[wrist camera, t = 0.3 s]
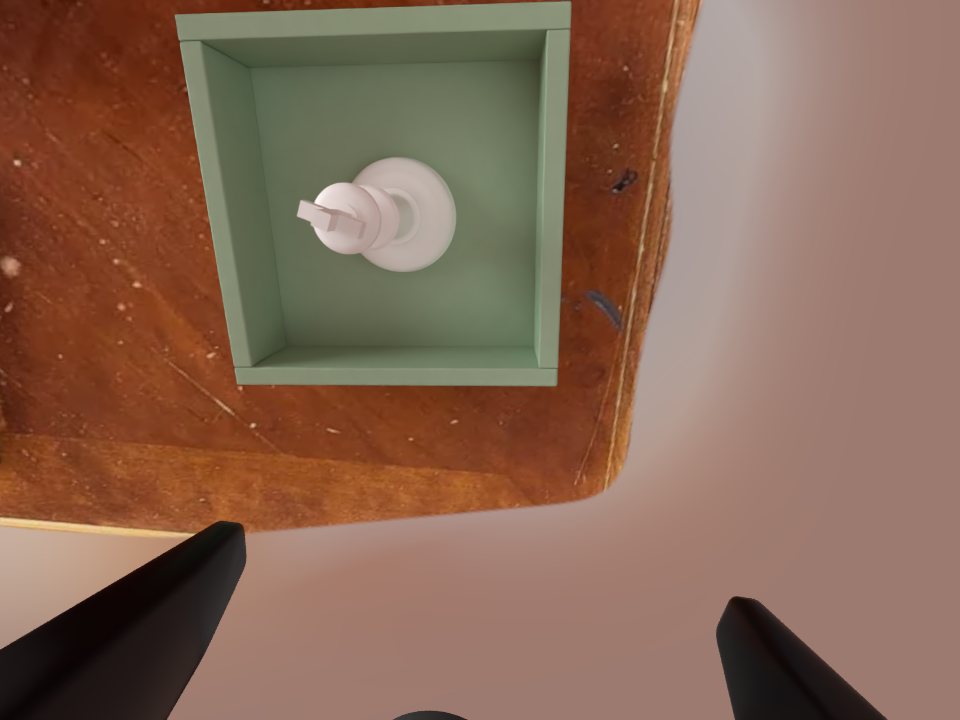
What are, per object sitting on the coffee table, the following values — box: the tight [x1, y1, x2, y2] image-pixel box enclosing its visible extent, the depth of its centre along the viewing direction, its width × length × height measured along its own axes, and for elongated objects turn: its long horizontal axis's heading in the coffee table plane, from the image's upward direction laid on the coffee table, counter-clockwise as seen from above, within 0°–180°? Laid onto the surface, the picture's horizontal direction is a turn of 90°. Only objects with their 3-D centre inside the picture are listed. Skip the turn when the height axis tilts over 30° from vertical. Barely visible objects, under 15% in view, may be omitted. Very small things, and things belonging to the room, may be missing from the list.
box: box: [175, 1, 571, 386], centre depth 20 cm, size 14×14×4 cm
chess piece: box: [297, 157, 456, 272], centre depth 17 cm, size 5×5×10 cm
